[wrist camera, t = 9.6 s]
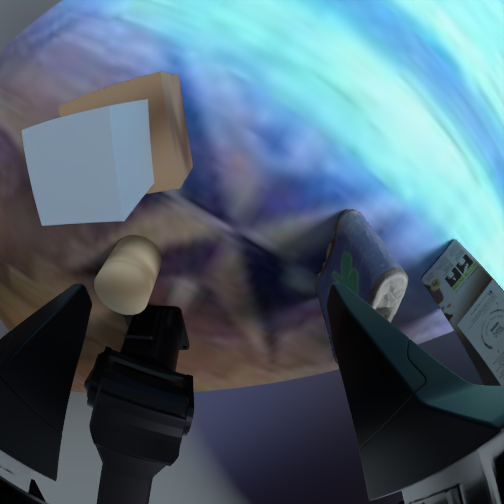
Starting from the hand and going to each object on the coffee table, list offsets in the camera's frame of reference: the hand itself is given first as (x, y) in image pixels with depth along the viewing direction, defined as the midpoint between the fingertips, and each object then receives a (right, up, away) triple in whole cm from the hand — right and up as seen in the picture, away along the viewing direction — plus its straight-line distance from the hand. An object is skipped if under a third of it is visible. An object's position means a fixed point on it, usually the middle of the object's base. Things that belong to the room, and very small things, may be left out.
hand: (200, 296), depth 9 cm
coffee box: (+25, -1, +17) cm, 31 cm away
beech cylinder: (-9, +1, +15) cm, 17 cm away
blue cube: (-6, +8, +5) cm, 11 cm away
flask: (+9, +1, +15) cm, 18 cm away
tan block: (-6, +10, +9) cm, 15 cm away
